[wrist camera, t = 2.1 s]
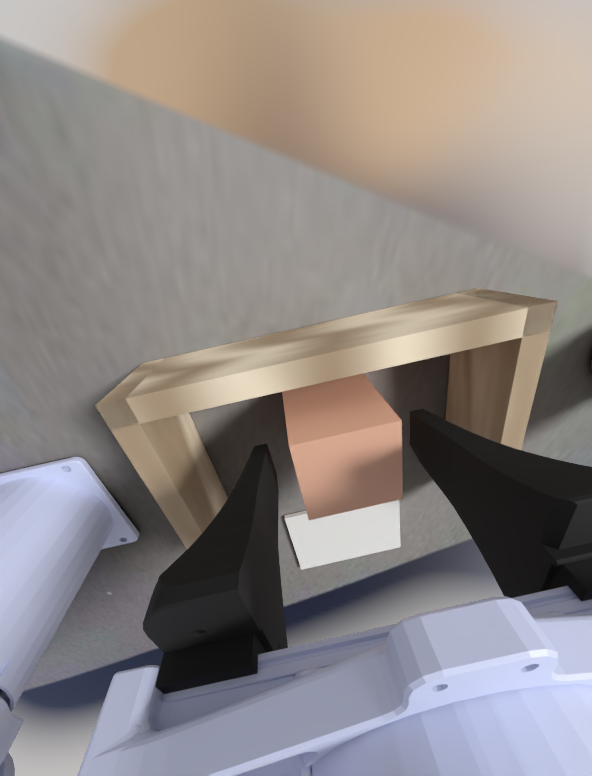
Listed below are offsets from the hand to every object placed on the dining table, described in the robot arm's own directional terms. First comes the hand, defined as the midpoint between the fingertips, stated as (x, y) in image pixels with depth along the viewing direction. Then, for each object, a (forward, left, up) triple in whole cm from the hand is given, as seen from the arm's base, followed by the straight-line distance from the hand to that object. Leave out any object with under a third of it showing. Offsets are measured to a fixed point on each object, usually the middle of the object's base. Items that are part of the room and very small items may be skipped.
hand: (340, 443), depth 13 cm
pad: (0, -13, -4) cm, 13 cm away
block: (0, 0, -4) cm, 4 cm away
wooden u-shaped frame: (0, -2, -4) cm, 4 cm away
